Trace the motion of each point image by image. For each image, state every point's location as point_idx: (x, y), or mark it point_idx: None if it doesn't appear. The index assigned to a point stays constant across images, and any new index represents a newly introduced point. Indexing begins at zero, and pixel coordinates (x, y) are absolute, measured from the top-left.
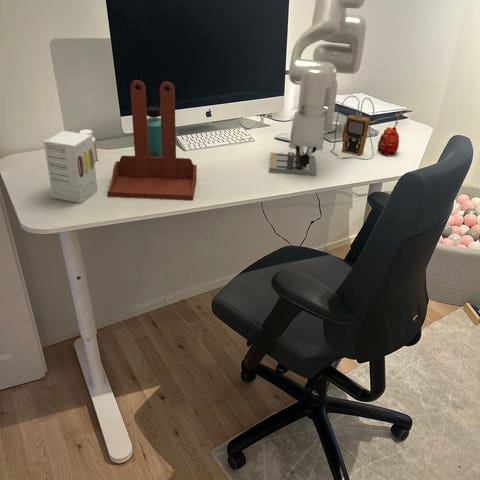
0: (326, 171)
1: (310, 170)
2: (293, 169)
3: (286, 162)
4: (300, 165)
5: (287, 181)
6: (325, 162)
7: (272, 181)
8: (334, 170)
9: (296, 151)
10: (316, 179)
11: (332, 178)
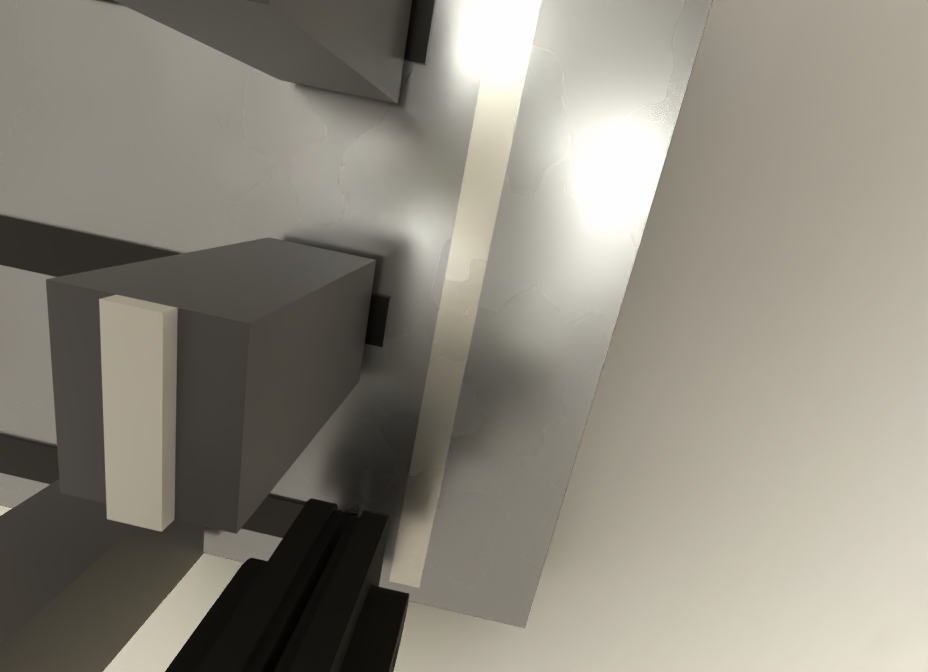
0: (716, 464)
1: (444, 597)
2: (217, 550)
3: None
4: (330, 435)
5: None
6: (862, 123)
7: None
8: (856, 442)
9: (220, 47)
10: (503, 647)
11: (707, 645)
